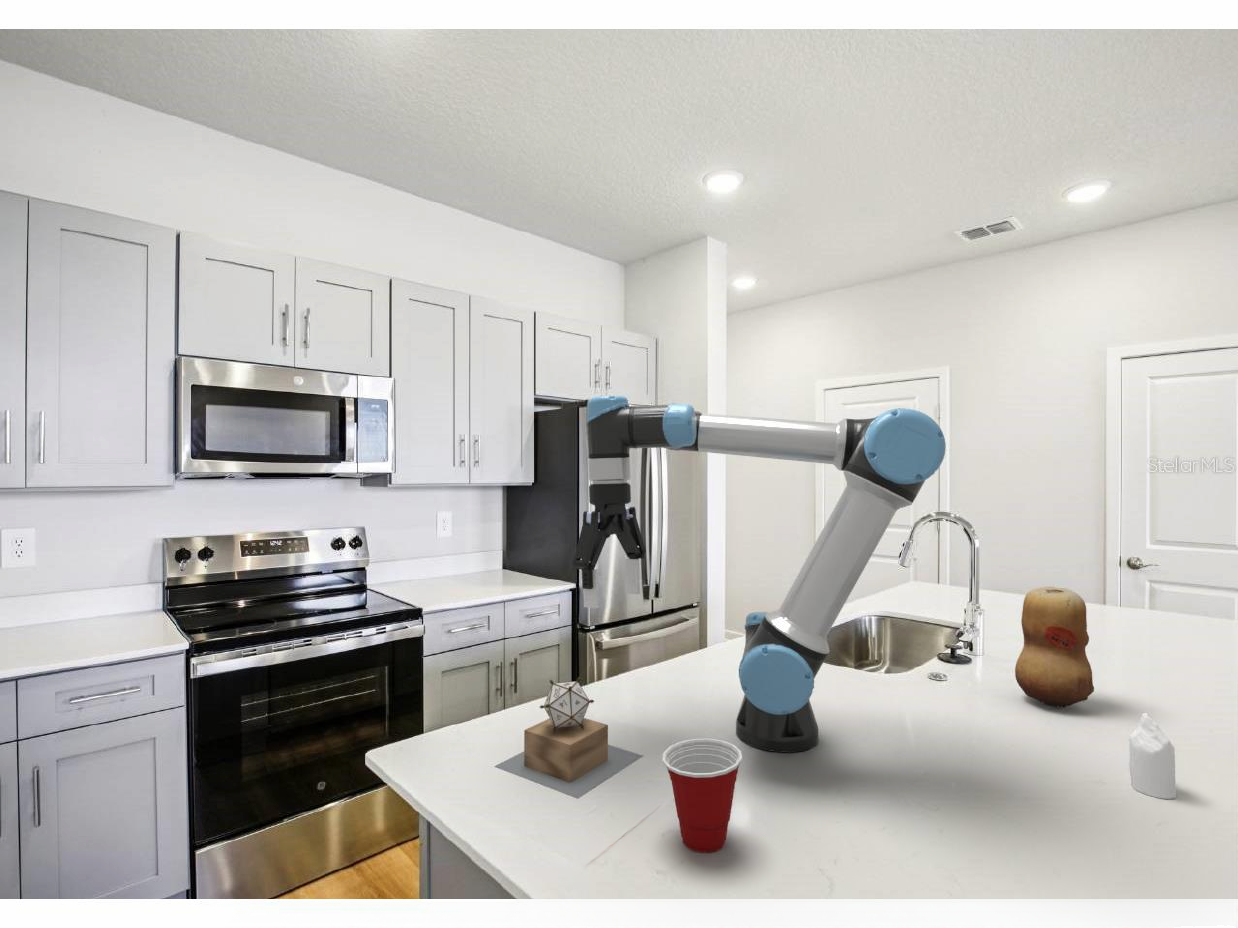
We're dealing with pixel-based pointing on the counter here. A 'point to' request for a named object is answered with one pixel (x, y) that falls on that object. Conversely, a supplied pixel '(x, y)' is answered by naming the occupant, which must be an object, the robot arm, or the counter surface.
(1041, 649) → the butternut squash
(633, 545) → the robot arm
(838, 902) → the counter surface
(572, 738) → the walnut block
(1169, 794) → the white pouch
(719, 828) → the plastic cup
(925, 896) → the counter surface
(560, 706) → the game die
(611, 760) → the build mat
